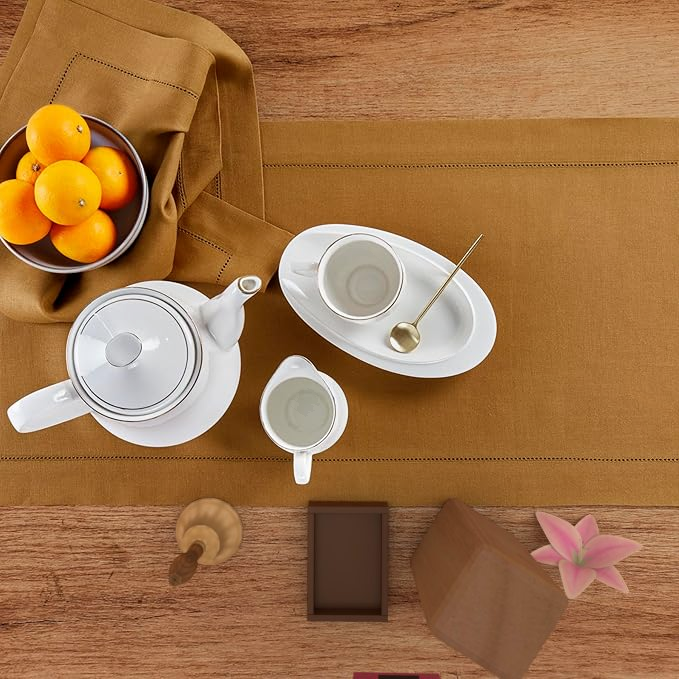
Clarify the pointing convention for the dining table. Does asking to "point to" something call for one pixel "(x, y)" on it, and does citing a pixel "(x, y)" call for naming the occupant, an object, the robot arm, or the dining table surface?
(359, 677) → the pink block
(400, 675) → the robot arm
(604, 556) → the lily
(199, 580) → the dining table surface
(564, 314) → the dining table surface
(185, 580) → the hand bell
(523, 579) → the wooden block
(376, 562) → the tray
